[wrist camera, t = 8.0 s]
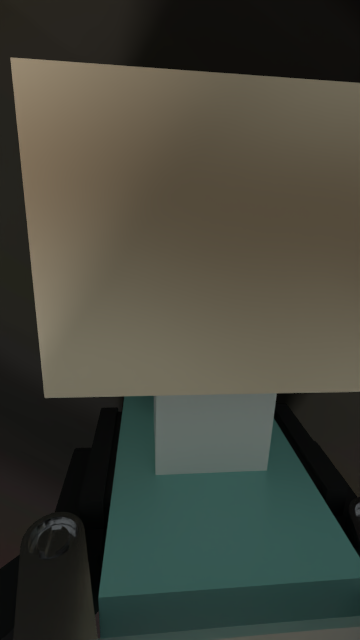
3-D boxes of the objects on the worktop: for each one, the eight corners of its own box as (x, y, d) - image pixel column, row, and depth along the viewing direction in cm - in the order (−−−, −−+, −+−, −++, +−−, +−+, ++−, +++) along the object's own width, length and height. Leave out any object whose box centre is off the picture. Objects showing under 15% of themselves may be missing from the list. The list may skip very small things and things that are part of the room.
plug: (231, 614, 16) (287, 884, 10) (129, 623, 16) (116, 912, 9) (276, 203, 11) (477, 187, 4) (120, 198, 10) (72, 171, 4)
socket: (284, 301, 12) (422, 390, 6) (99, 300, 11) (44, 397, 5) (301, 162, 11) (504, 93, 5) (93, 152, 10) (10, 58, 4)
